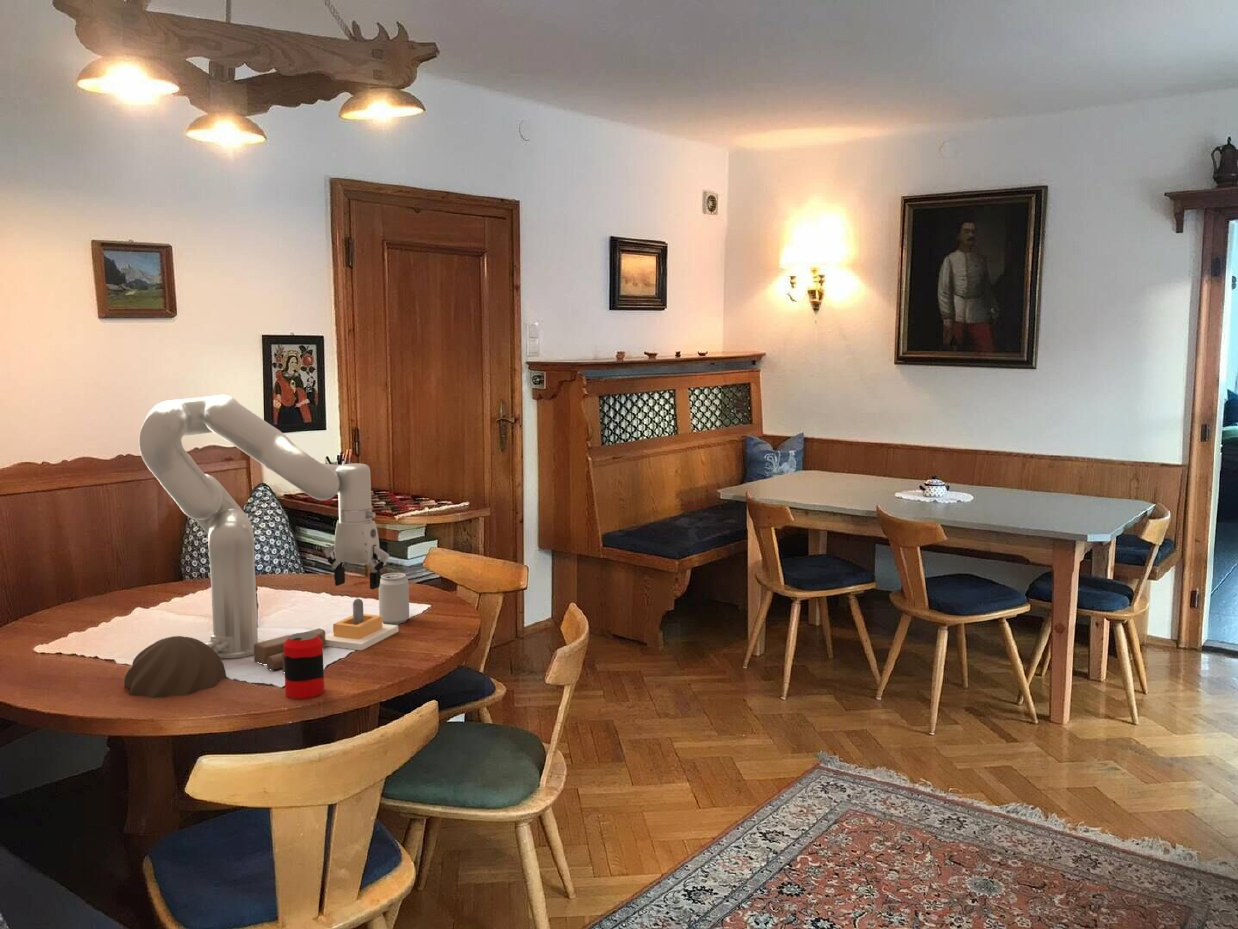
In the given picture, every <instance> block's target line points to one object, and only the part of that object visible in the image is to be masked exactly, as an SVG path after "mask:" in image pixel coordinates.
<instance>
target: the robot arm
mask: <svg viewBox="0 0 1238 929" xmlns="http://www.w3.org/2000/svg"><path fill="white" fill-rule="evenodd" d="M210 433H214V434H216V435H217V436H218V437H220V438H221V439H223V440H225V441H226V442H228V443H229V444H231V445H232V446H234V447H236V448H237V449H238V450H240V451H241V452H243V453H245V454H246V455H248V456H249V457H250V458H252V459H253V460H255V461H256V462H258V463H259V464H261V466H263V467H264V468H266V469H268V470H270V471H272V472H274V473H275V474H276V475H278V476H280V477H281V478H282V479H284V480H285V481H287V482H288V483H289V484H292V485H293V486H294V487H296V488H297V489H299V490H300V491H302V492H304V494H307V496H309V497H311V498H313V499H315V500H318V501H327V500H330V499H333V498H334V497H335V496H336V495H338V496H337V497H338V499H337V500H338V501H337V502H338V520H337V521H336V522H337V523H336V525H335V532H334V533H335V534H334V544H333V545H331V546H329V547H327V548H325V549H324V550H323V551H324V555H325V557H326V559H327V562H328V564H330V566H331V569H332V570H333V573H334V574H333V576H334V586H335V587H338V586H340V585H341V586H342V585H343V584H345V583H346V573H345V572H346V569H345V566H343V565H345V564H354V565H355V564H356V565H367V567H368V568H369V570H370V571H371V572H369V589H370V590H375V589H379V586H380V579H381V571H382V570H383V569H384V567H385V566H386V565H387V562H388V561H389V558H390V554H389V553H388V552H386V551H384V550H383V549H382V548H380V540H379V533H378V528H377V524H376V522H375V520H373V519H375V518H376V512H374V511H373V509H372V486H371V485H372V484H371V483H372V482H371V469H370V466H369V465H368V464H365V463H361V462H359V463H356V462H355V463H351V462H350V463H345V464H344V463H343V464H334V463H333V464H332V463H323V462H320V461H318V460H317V459H315V458H314V457H313V456H311V455H309V454H308V453H307V452H305V451H304V450H303V449H301V448H299V446H297V445H296V444H295V443H294V442H293V441H292V440H291V439H290V438H289V437H288V436H286V434H285V433H284V432H282V431H281V430H280V429H278V428H277V427H275V426H273V425H272V424H270V423H269V422H267V421H266V420H264V419H263V418H261V417H260V416H259V415H257V414H256V413H253V412H252V411H251V410H249V409H248V408H246V407H245V406H244V405H242V404H240V402H238V401H237V400H236V399H235V398H234V397H233V396H230V395H226V394H219V395H217V394H216V395H211V396H202V397H190V398H180V399H172V400H164V401H162V402H159V403H157V404H156V405H155V406H153V408H151V410H149V411H148V414H147V415H146V417H145V419H144V421H143V423H142V426H141V427H140V430H139V436H138V447H139V451H140V456H141V459H142V460H143V462H144V464H145V466H146V467H147V469H148V470H149V471H150V472H151V473H152V475H153V476H154V478H156V480H158V482H159V483H160V485H161V486H162V488H163V489H164V490H165V491H166V493H168V495H169V496H170V497H171V498H172V499H173V501H174V502H175V503H176V504H177V506H178V507H179V509H180V510H181V511H182V513H183V514H185V515H186V516H187V517H189V518H190V519H193V520H195V521H196V523H198V525H199V526H200V527H201V528H202V529H203V530H204V532H205V533H206V534H207V536H208V543H207V544H208V555H209V556H208V557H209V569H210V570H209V571H210V588H211V589H210V590H211V591H210V592H211V612H212V626H213V627H212V628H213V629H212V631H213V634H212V635H210V640H209V641H208V642H206V643H205V644H206V645H208V646H209V647H211V648H212V649H213V650H214V651H215V652H216V653H217V654H218V655H219V657H220V658H221V659H237V658H236V657H239V658H244V656H245V657H248V656H249V657H250V656H254V644H256V643H259V642H263V641H264V640H263V639H261V638H259V636H258V635H259V634H258V614H257V613H258V612H257V610H258V609H257V591H256V589H257V588H256V587H257V586H256V564H255V535H254V530H253V529H254V528H253V524H252V522H251V520H250V517H248V515H247V514H246V513H245V511H244V510H243V509H242V508H241V507H240V505H239V504H238V503H237V502H236V501H235V499H234V498H233V497H232V496H231V495H230V493H229V492H228V491H227V490H226V489H225V487H224V486H223V485H222V484H221V482H219V480H217V478H215V477H214V476H212V475H210V474H207V473H205V472H204V471H203V470H202V469H201V468H200V466H198V464H197V463H196V462H195V460H194V459H193V458H192V456H191V455H190V454H189V453H188V452H187V451H186V449H185V448H184V445H183V443H182V438H183V437H184V436H194V435H201V434H202V435H203V434H210Z"/></svg>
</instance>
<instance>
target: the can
mask: <svg viewBox="0 0 1238 929" xmlns="http://www.w3.org/2000/svg"><path fill="white" fill-rule="evenodd" d="M406 576H407V575H406V574H405V573H404V572H403V573H402V572H388V573H383V574H382V575H380V586H379V587H378V609H379V613H378V616H382V623H383V624H388V625H396V624H397V625H398V624H402V623H405V622H406V621H407V620H408V619H409V618H410V591H409V590H410V587H409V582H410V581H409V579H408V578H407V577H406Z"/></svg>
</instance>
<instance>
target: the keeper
mask: <svg viewBox="0 0 1238 929" xmlns="http://www.w3.org/2000/svg"><path fill="white" fill-rule="evenodd" d="M363 614H364V601H363V600H362V599H361V598H355V599H353V602H352V615H353V624H354V625H358V624H360V623H362V622H364V618H363ZM398 632H399V625H398V624H397V625H396V624H387V623H382V628H381V629H379V630H377V631H375V632H373V633H371V634H369V635H367V636H365V637H363V638H361V639H351V638H343V637H335V636H334V633H333V631H331V632H329V633H327V634H325V641H326V646H325V647H329V646H335V647H334V648H337V647H341V648H340V649H346V648H348V649H347V650H353V651H354V650H355V651H363V650H366V649H368V648H369V647H371V646H373V645H375V644H377V643H379V642H381V641H383V640H385V639H387V638H389V637H391V636H392V635H395V634H396V633H398Z"/></svg>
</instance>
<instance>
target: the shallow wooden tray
mask: <svg viewBox="0 0 1238 929" xmlns="http://www.w3.org/2000/svg"><path fill="white" fill-rule="evenodd" d="M363 618H364V622H362V623H360V624H358V625H354V624H353V614H352V615H350V616H348V617H345V618H344V619H341V620H339V621H337V622H335V623H333V624H332V630H333V631H332V632H333V633H334V636H335V637H343V638H351V639H361V638H363V637H365V636H367V635H369V634H371V633H373V632H375V631H377V630H379V629H381V628H382V624H383V621H382V616H379V614H378V615H377V614H376V615H375V614H368V613H363Z"/></svg>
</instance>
